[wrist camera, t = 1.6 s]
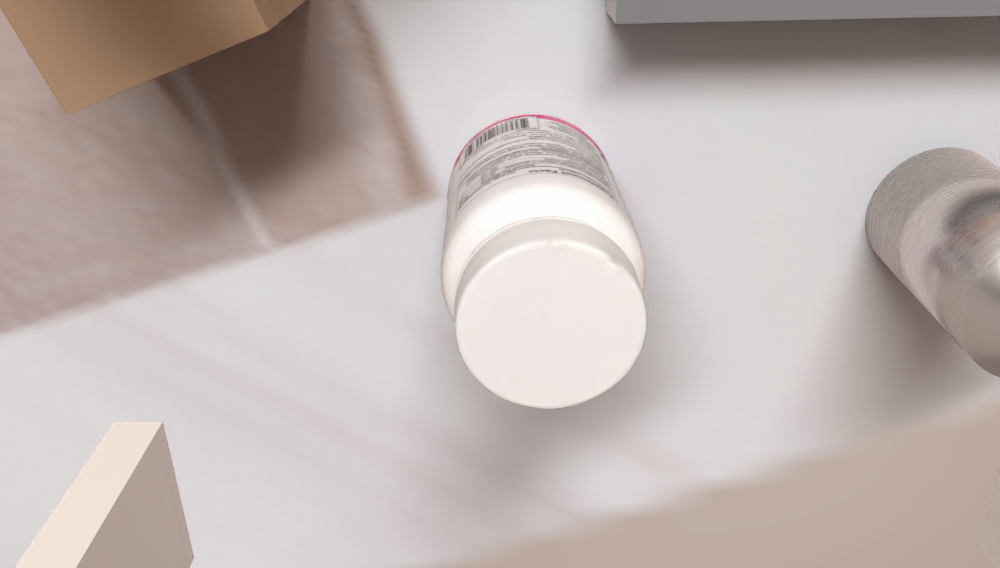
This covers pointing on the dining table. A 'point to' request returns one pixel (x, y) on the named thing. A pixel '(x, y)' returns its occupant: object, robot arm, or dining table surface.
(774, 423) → the dining table surface
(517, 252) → the pill bottle
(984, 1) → the tray
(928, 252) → the cylinder
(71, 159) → the dining table surface
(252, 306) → the dining table surface
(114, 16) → the walnut block
